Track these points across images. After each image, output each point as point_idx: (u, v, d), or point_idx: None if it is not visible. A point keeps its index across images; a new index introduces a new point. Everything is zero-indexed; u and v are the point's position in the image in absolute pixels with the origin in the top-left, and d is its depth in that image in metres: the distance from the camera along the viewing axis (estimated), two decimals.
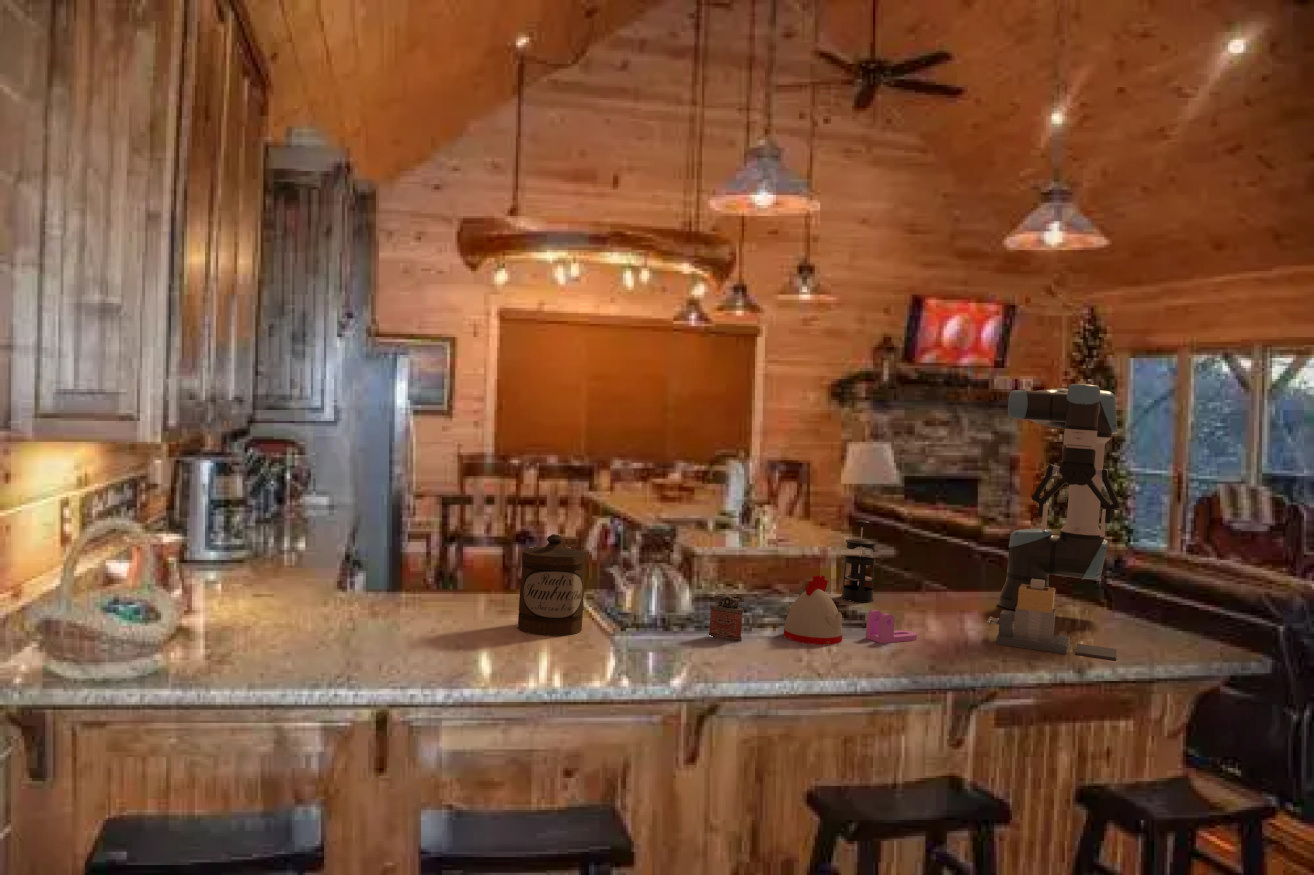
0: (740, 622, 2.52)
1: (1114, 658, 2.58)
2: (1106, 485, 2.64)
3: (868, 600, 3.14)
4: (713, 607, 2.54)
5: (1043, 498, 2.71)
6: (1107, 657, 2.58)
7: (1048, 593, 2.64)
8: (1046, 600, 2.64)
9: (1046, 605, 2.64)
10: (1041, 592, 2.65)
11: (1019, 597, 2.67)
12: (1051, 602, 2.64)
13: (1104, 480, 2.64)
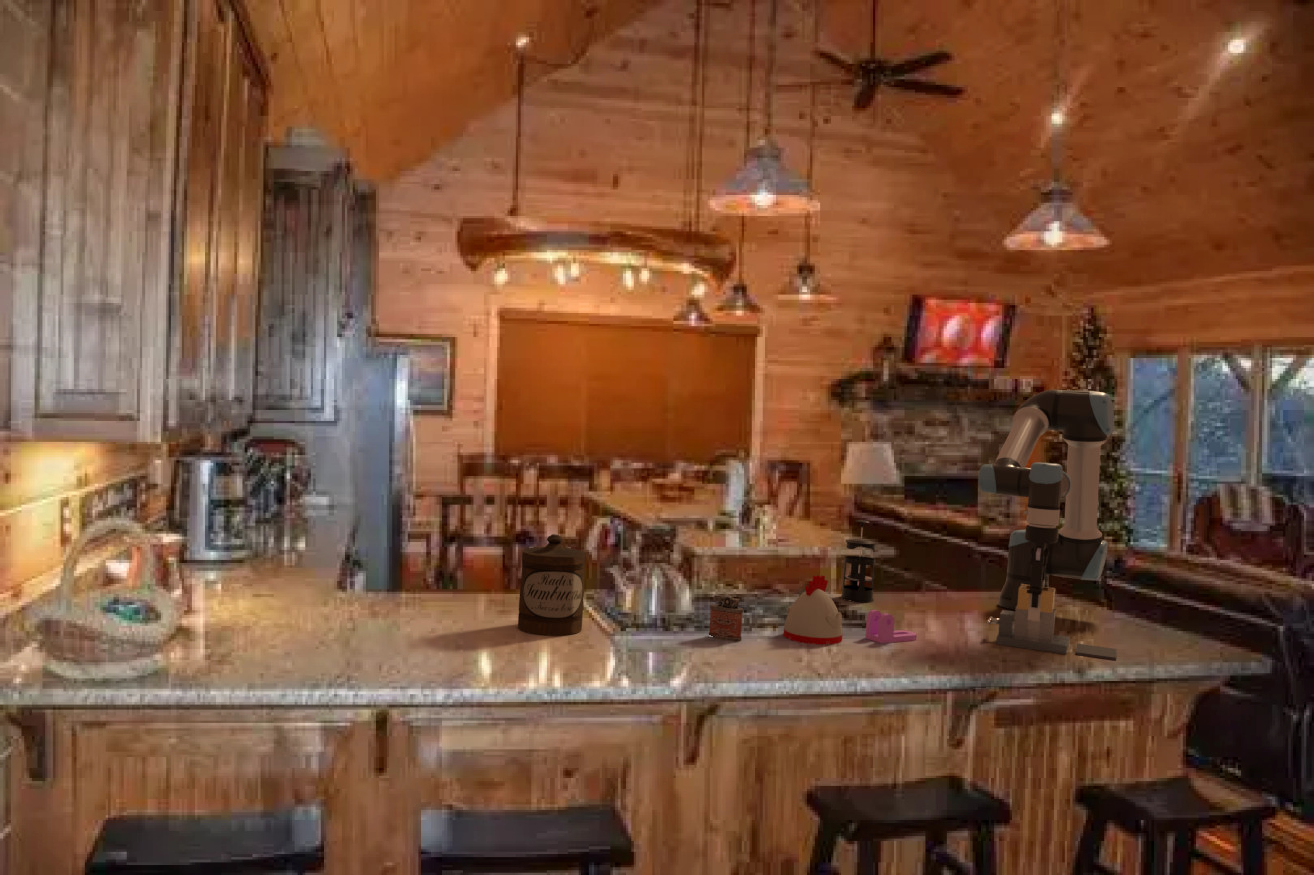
0: (740, 622, 2.52)
1: (1114, 658, 2.58)
2: (1032, 567, 2.64)
3: (868, 600, 3.14)
4: (713, 607, 2.54)
5: None
6: (1107, 657, 2.58)
7: (1048, 593, 2.64)
8: (1046, 600, 2.64)
9: (1046, 605, 2.64)
10: None
11: (1019, 597, 2.67)
12: (1051, 602, 2.64)
13: None
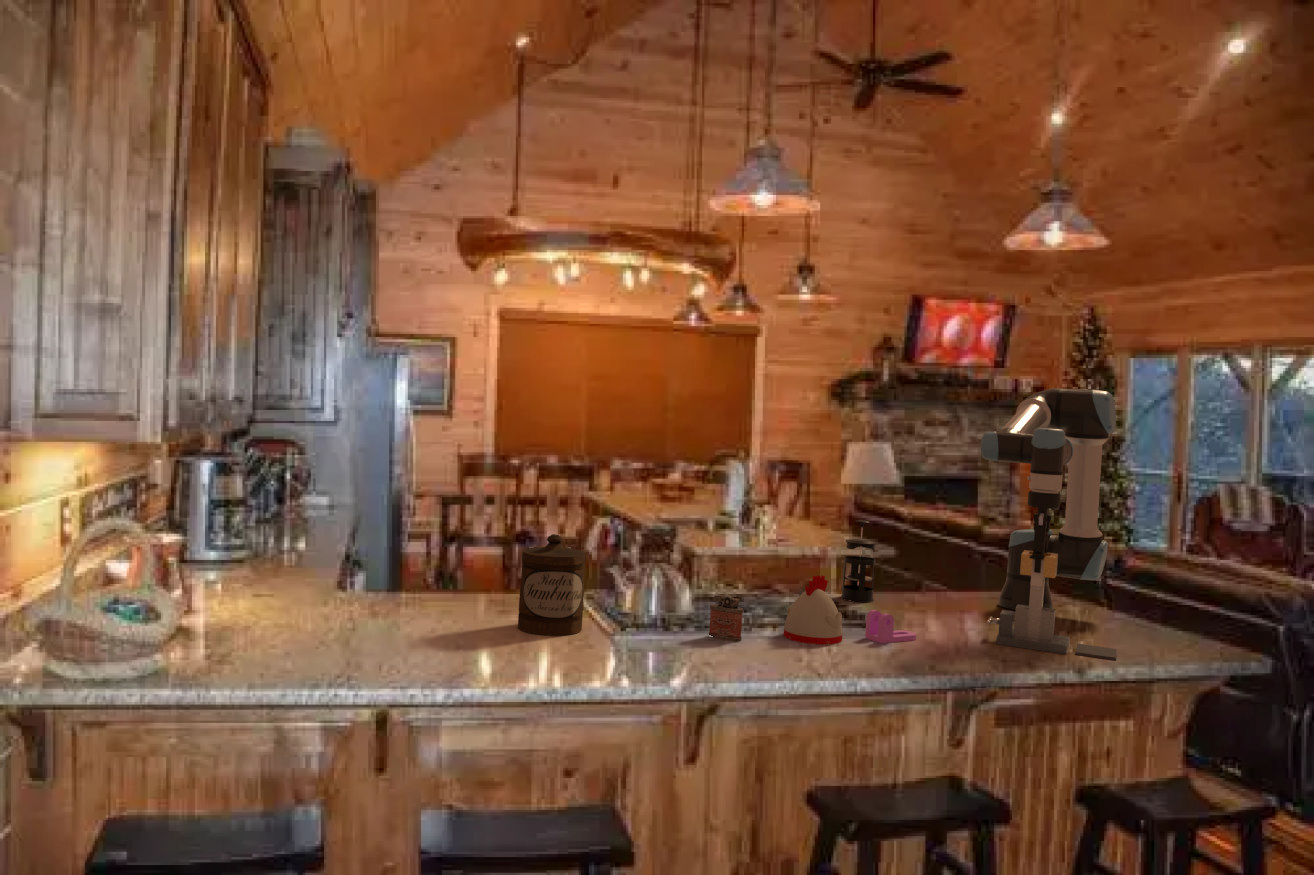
0: (740, 622, 2.52)
1: (1114, 658, 2.58)
2: None
3: (868, 600, 3.14)
4: (713, 607, 2.54)
5: None
6: (1107, 657, 2.58)
7: (1051, 558, 2.64)
8: (1049, 565, 2.64)
9: (1049, 570, 2.64)
10: (1044, 557, 2.65)
11: (1022, 563, 2.67)
12: (1054, 567, 2.64)
13: (1035, 527, 2.64)
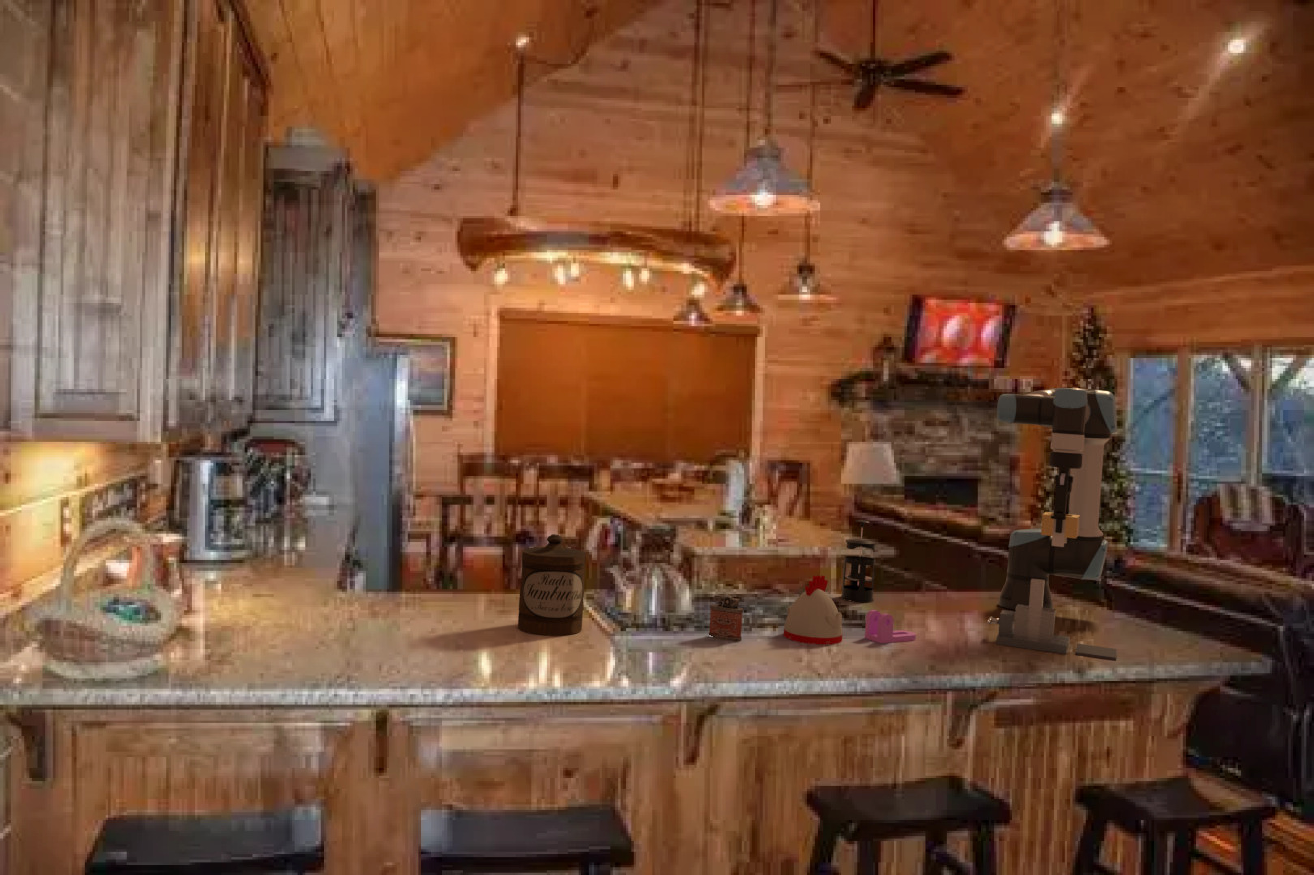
0: (740, 622, 2.52)
1: (1114, 658, 2.58)
2: (1056, 492, 2.62)
3: (868, 600, 3.14)
4: (713, 607, 2.54)
5: None
6: (1107, 657, 2.58)
7: (1072, 518, 2.62)
8: (1070, 525, 2.62)
9: (1070, 530, 2.62)
10: None
11: (1043, 523, 2.65)
12: (1075, 527, 2.62)
13: None
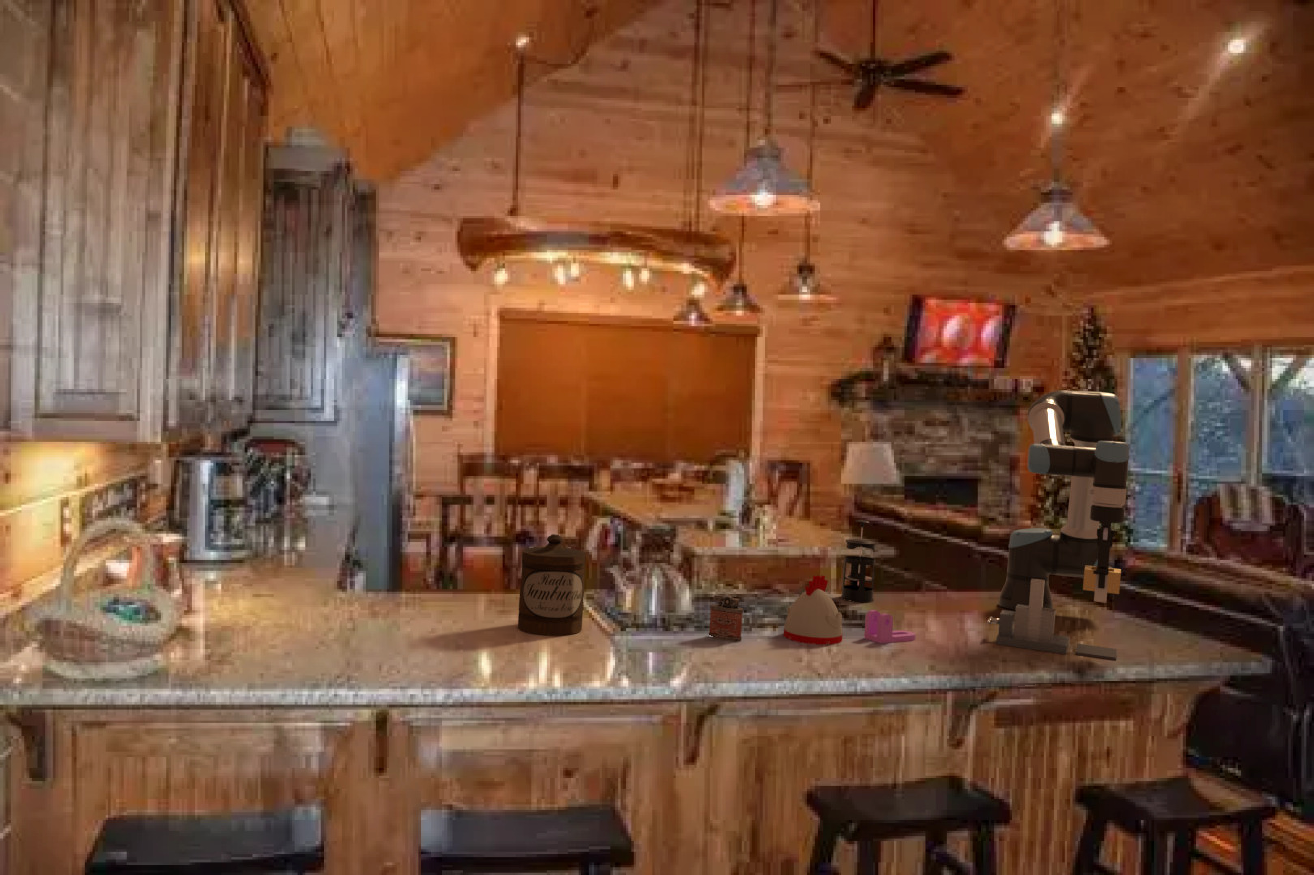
0: (740, 622, 2.52)
1: (1114, 658, 2.58)
2: (1098, 547, 2.58)
3: (868, 600, 3.14)
4: (713, 607, 2.54)
5: None
6: (1107, 657, 2.58)
7: (1115, 574, 2.59)
8: (1113, 581, 2.59)
9: (1113, 586, 2.59)
10: None
11: (1085, 578, 2.61)
12: (1118, 583, 2.58)
13: (1099, 541, 2.58)
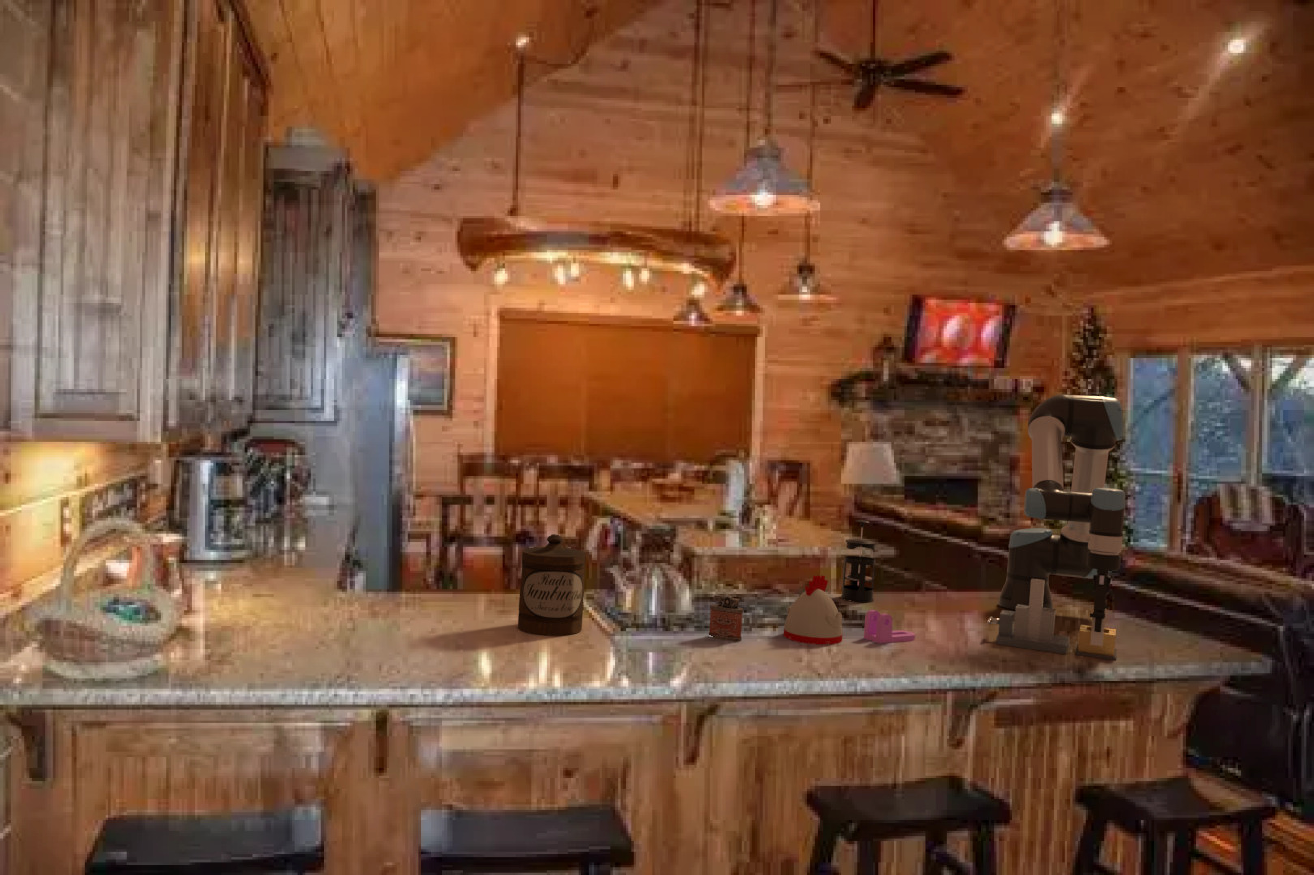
0: (740, 622, 2.52)
1: (1114, 658, 2.58)
2: (1095, 592, 2.58)
3: (868, 600, 3.14)
4: (713, 607, 2.54)
5: None
6: (1107, 657, 2.58)
7: (1110, 636, 2.59)
8: (1108, 643, 2.60)
9: (1108, 648, 2.60)
10: (1103, 635, 2.60)
11: (1080, 640, 2.62)
12: (1113, 645, 2.59)
13: (1095, 586, 2.58)
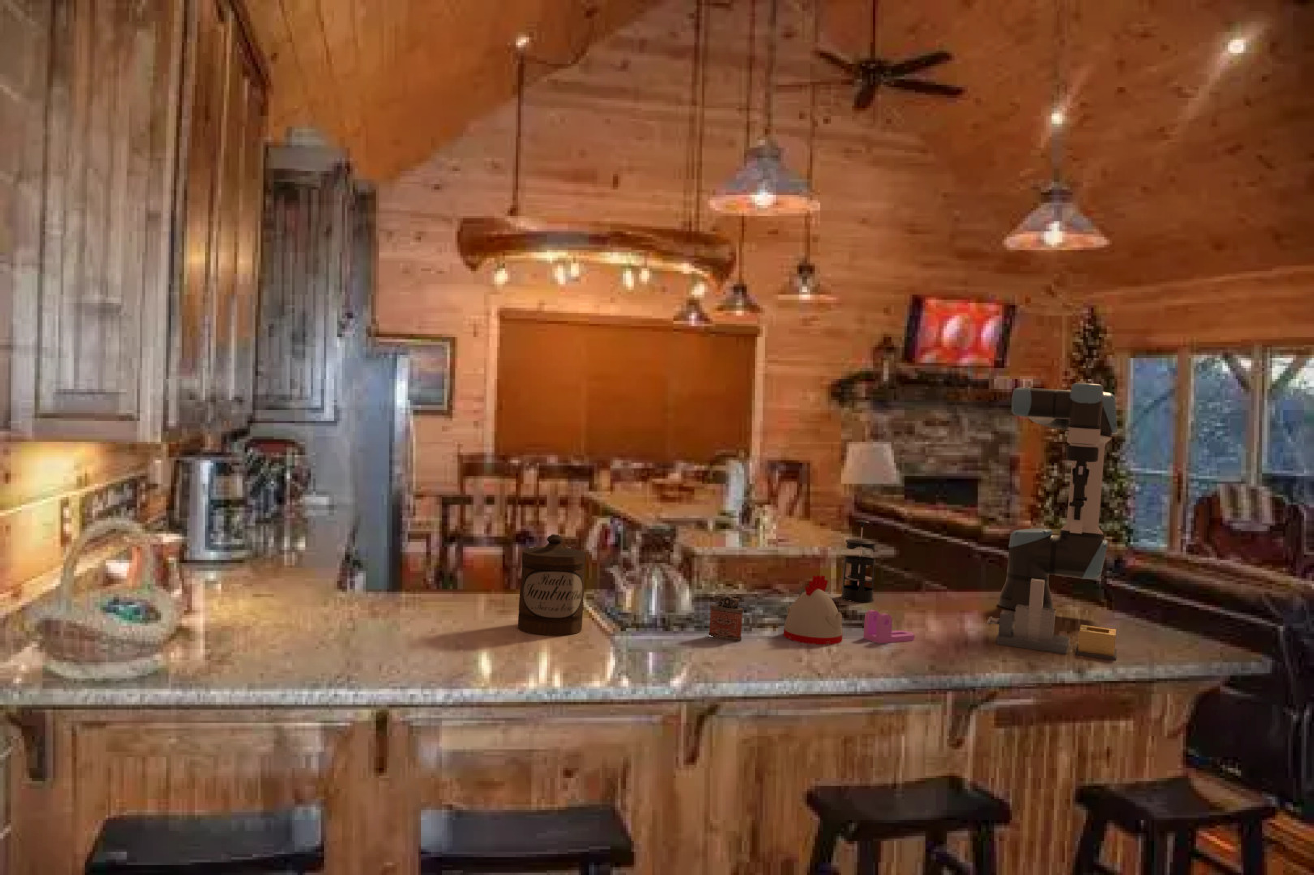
0: (740, 622, 2.52)
1: (1114, 658, 2.58)
2: None
3: (868, 600, 3.14)
4: (713, 607, 2.54)
5: None
6: (1107, 657, 2.58)
7: (1110, 636, 2.59)
8: (1108, 643, 2.60)
9: (1108, 648, 2.60)
10: (1103, 635, 2.60)
11: (1080, 640, 2.62)
12: (1113, 645, 2.59)
13: (1074, 476, 2.68)
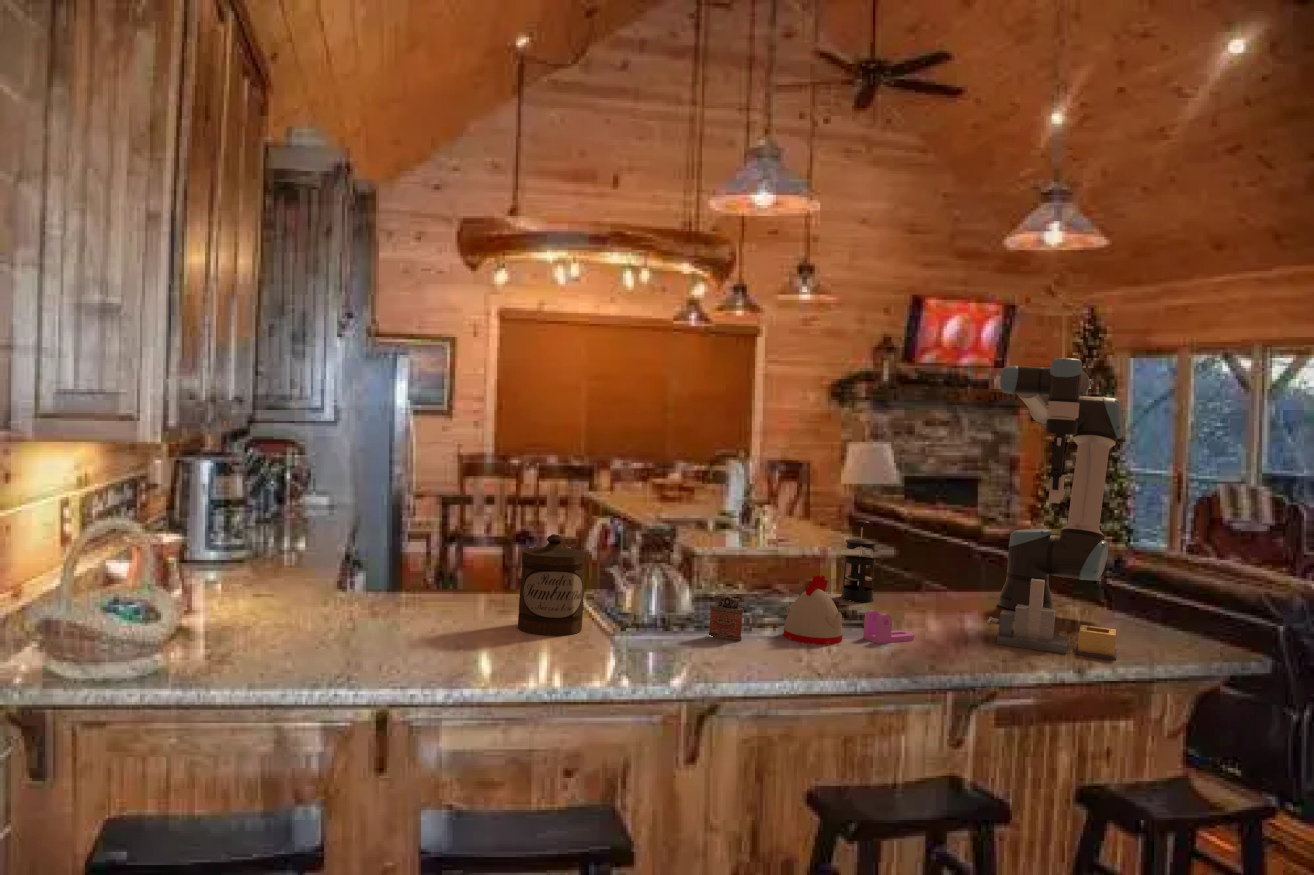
0: (740, 622, 2.52)
1: (1114, 658, 2.58)
2: (1053, 453, 2.75)
3: (868, 600, 3.14)
4: (713, 607, 2.54)
5: None
6: (1107, 657, 2.58)
7: (1110, 636, 2.59)
8: (1108, 643, 2.60)
9: (1108, 648, 2.60)
10: (1103, 635, 2.60)
11: (1080, 640, 2.62)
12: (1113, 645, 2.59)
13: (1053, 448, 2.75)
